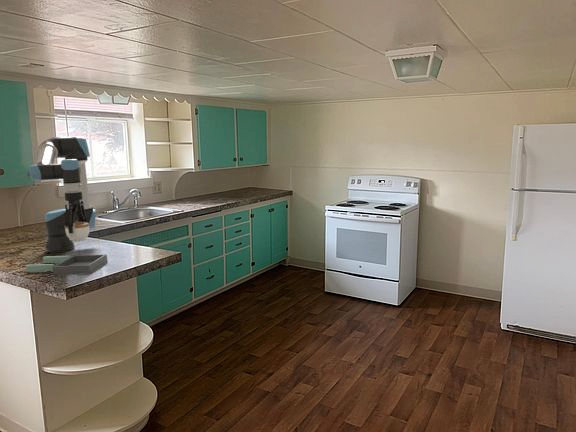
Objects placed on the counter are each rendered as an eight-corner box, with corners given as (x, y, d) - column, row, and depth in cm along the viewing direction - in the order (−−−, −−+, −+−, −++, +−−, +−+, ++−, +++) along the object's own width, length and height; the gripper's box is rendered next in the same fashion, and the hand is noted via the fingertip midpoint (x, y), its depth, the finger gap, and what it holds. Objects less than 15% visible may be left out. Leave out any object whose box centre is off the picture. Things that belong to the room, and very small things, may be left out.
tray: (53, 275, 208) (52, 266, 208) (74, 263, 229) (73, 255, 228) (90, 273, 208) (89, 265, 208) (107, 261, 229) (106, 254, 228)
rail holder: (26, 272, 214) (25, 265, 214) (45, 263, 231) (44, 256, 230) (53, 271, 214) (52, 264, 214) (70, 262, 231) (69, 255, 230)
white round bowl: (84, 236, 224) (82, 218, 222) (94, 239, 217) (92, 220, 215) (62, 240, 216) (60, 221, 214) (72, 243, 209) (69, 223, 207)
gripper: (69, 194, 201) (74, 242, 205) (91, 189, 224) (95, 232, 227) (52, 194, 201) (58, 242, 204) (76, 189, 224) (81, 232, 227)
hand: (78, 237), depth 216 cm, fingers closed on white round bowl, 11 cm apart
